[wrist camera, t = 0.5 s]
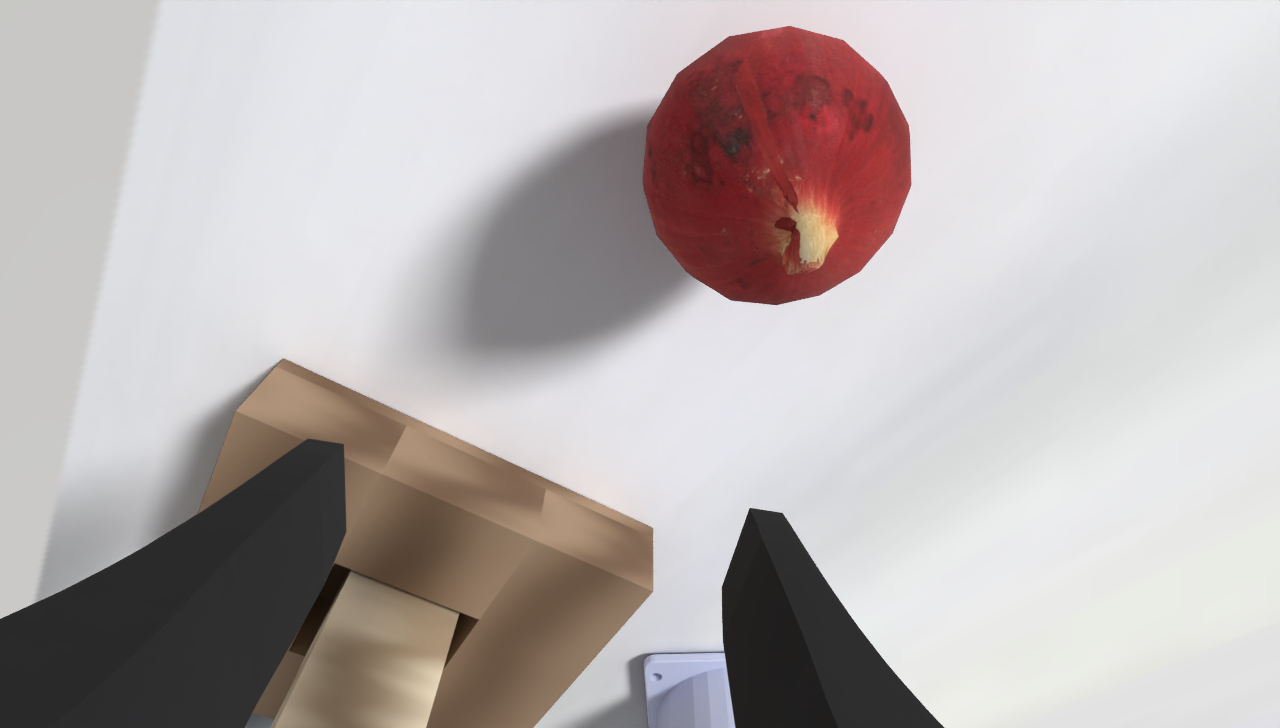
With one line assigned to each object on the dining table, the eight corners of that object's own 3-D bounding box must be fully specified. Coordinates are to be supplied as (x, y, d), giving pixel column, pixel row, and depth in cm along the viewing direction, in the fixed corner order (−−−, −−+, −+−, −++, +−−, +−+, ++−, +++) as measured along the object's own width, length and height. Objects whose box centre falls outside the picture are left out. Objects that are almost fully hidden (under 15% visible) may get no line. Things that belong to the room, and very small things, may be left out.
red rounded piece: (601, 107, 19) (571, 198, 12) (791, -38, 17) (889, -33, 10) (719, 274, 21) (752, 431, 14) (897, 160, 19) (1036, 277, 12)
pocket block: (653, 528, 26) (653, 591, 24) (494, 720, 32) (480, 787, 30) (283, 358, 23) (235, 410, 20) (184, 610, 29) (138, 675, 26)
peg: (472, 569, 27) (409, 784, 20) (431, 629, 28) (361, 846, 21) (371, 527, 26) (268, 739, 19) (336, 592, 27) (230, 808, 20)
